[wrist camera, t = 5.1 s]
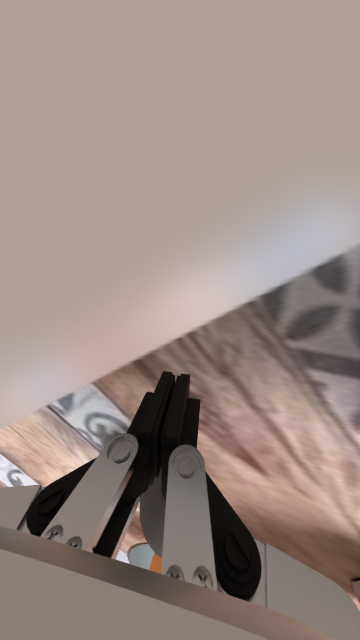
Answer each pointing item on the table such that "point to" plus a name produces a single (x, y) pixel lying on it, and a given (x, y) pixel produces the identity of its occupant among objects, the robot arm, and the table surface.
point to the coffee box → (356, 588)
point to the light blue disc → (141, 556)
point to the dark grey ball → (153, 515)
